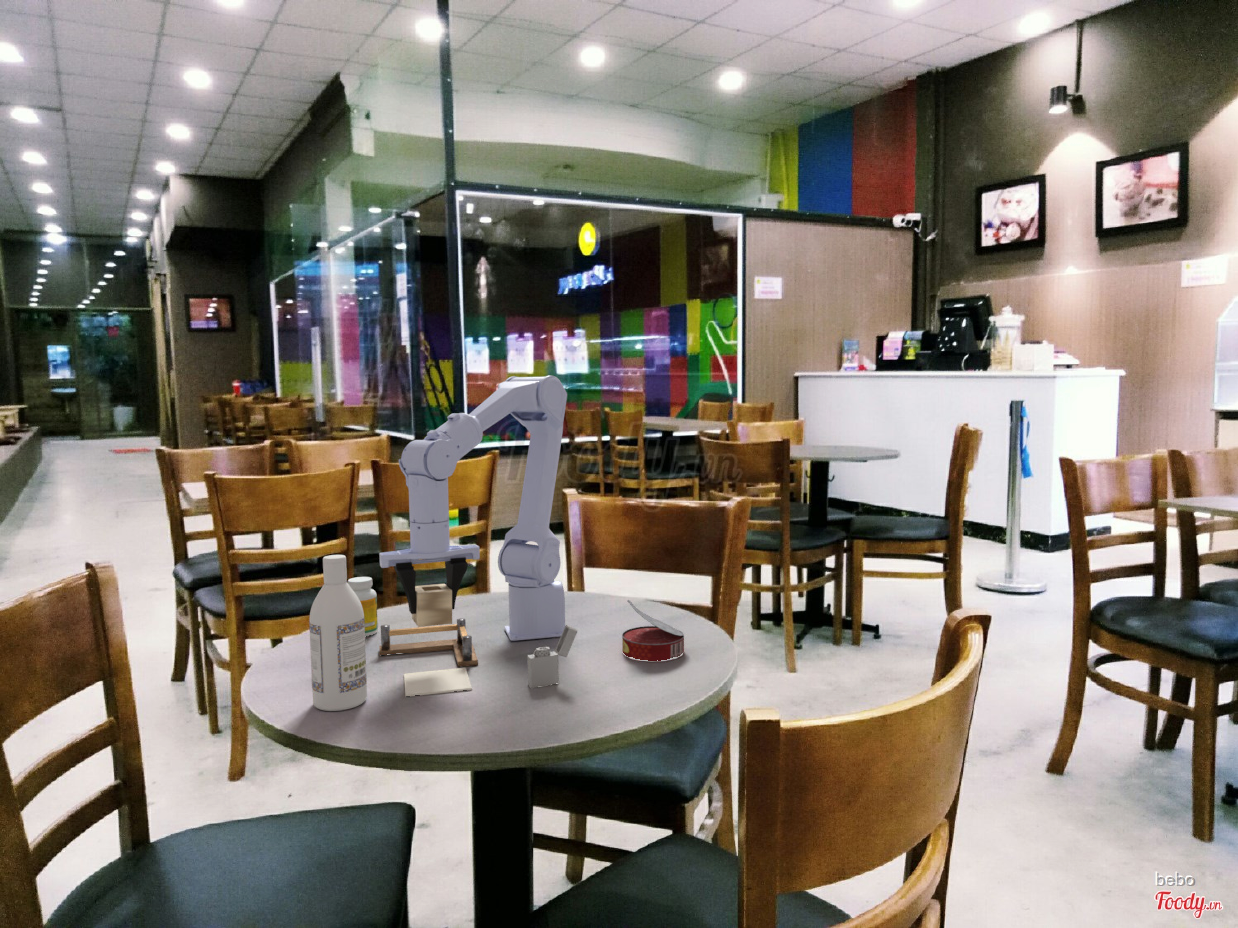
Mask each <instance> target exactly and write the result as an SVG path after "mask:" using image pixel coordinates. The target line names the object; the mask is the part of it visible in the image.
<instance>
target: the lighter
mask: <svg viewBox="0 0 1238 928" xmlns="http://www.w3.org/2000/svg"><path fill="white" fill-rule="evenodd" d="M577 634H578V629H576V628H575V627H573V626H570V625H568V624H565V628H564V630H563V633H562V635H561V636H560V637H559V640H558V642H557V644H556V647H555V649H554V651H551V648H550V646H542V647H537V648H535V650H534V651H533V653H532V654H527V656H526V657H527V686H530V687H531V688H530V687H529V688H530V689H535V688H534V687H538V686H544V687H549V686H548V685H550V686H552V685H551V684H556V683H559V684H560V681H559V675H560V674H559V656H561V657H565V658H567V657H568V655H569V652H570V650H571V648H572V646H573V644H574V641H575V638H576V636H577ZM538 688H539V687H538Z"/></svg>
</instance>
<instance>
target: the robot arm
mask: <svg viewBox="0 0 1238 928" xmlns="http://www.w3.org/2000/svg"><path fill="white" fill-rule="evenodd" d="M567 400H568V392H567V391H566V389H565V387H564V385H563V384H562V382H561V380H560V379H559V378H558V377H557V376H554V375H545V376H515V375H513V376H510V377H508V378H507V379H505V380H504V381H502V382H499V383H498V386H497V389H496V390H495V391H493V393H492V394H491V395H490V396H488V397H487V398H486V399H485V400H484V401H482V402H481V404H479V405H478V406H477V407H475V409H473V410H472V411H471V412H470V413H465V412H459V413H455V412H454V413H451V414H449V415H448V416H447V417H446V418H447V421H446V422H444V423H443V424H441V425H440V426H439V427H437V428H436V429H430V430H429V431H427V432H426V436H425V437H424V439H413V440H412V441H410V442H409V443H408V444H406V445H405V447H404V449H403V451H402V453H401V458H399V459H398V464H399V465H398V466H399V468H400V471H401V472H402V474H403V475H404V477H405V486H407V489H408V508H409V509H408V510H409V535H410V536H409V540H410V542H409V543H410V548H406V549H399V550H398V549H397V550H393V551H384V552H379V553H378V555H379V566H380V568H381V569H385V568H390V567H393V569H394V570H395V572H396V575H397V576H398V579H399V581H400V583H401V585H402V588H403V590H404V593H405V596H406V600H407V605H408V611H409V613H410V614H411V615H412V614H416V609H417V606H416V596H415V586H416V576H417V574H416V573H417V571H415V569H414V568H415V567H414V565H417V564H418V565H419V564H428V563H429V564H430V563H440V562H442V563H443V562H444V568H445V578H446V585H447V586H448V587H449V588H450V589H451V590H452V610H455V606H456V602H457V601H456V600H457V596H458V592H459V589H460V586H461V583H462V580H463V578H464V576H465V574H466V572H467V570H468V567H469V564H468V562H467V560H480V559H481V555H480V554H481V553H480V552H481V550H480V546H479V545H477V544H468V545H466V544H464V545H463V544H462V545H461V544H459V545H451V544H450V543H451V541H450V540H451V539H450V513H449V512H450V508H449V477H451V476H453V474H454V472H455V470H456V467H457V463H458V462H459V461H460V460H461V459H462V458H463V457H464V456H466V455H467V454H468V453H469V452H471V451H473V449H474V448H476V447H477V446H478V445H479V444H480V443H481V442H482V440H483V437H484V434H483V432H484V431H486V430H488V429H489V428H490V427H492V426H493V425H495V424H496V423H499V421H501V420H502V419H504V418H505V417H507V416H508V415H509V414H510V415H511V416H512V417H513V418H514V419H515V420H516V421H518V422H519V423H520V424H521V425H522V426H523V427H525V428H526V430H527V431H528V433H529V436H530V437H529V443H528V444H529V445H528V452H527V455H526V456H527V458H526V465H525V471H524V478H523V483H522V490H521V491H522V492H521V498H520V505H519V512H518V518H517V524H516V525H514V526H513V527H512V528H510V530H508V531H507V532H506V533H505V534H504V535H505V536H504V541H503V545H502V546H501V549H500V550H499V551H498V556H497V566H498V567H497V568H498V570H499V572H500V573H501V575H502V576H504V581H505V583H508V614H509V615H508V625H504V630H505V632H506V634H507V636H508V638H509V640H510V641H511V642H515V641H525V640H536V639H547V638H560V637H561V635H562V633H563V630H564V628H565V626H566V597H565V589H564V585H563V582H562V580H556V578H557V577H558V575H559V572H560V569H561V563H562V562H561V557H560V543H561V542H560V539H559V538H558V537H557V536H556V535H555V534H554V533H553V531H552V530H551V529H550V522H551V515H552V508H553V501H554V495H555V489H556V487H555V486H556V479H557V475H558V466H559V460H560V454H561V448H562V447H561V445H562V441H563V440H562V438H563V431H564V419H565V412H566V405H567ZM528 542H534V543H536V544H530V543H528Z"/></svg>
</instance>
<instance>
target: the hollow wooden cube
mask: <svg viewBox="0 0 1238 928" xmlns="http://www.w3.org/2000/svg"><path fill="white" fill-rule="evenodd" d="M415 596H416V606H417V609H416V614H411V619H412V621H413V622H414V623H415V625H416V626H417V627H428V626H440V625H452V624H453V609H452V590H451V589H450V588H449V587H448V586H447V583H446V584H445V583H436V584H425V585H415Z"/></svg>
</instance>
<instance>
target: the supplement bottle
mask: <svg viewBox="0 0 1238 928" xmlns="http://www.w3.org/2000/svg"><path fill="white" fill-rule="evenodd" d="M347 583H348V584H349V586H350V587H351V588H352V590H353V591H354V592H355V594H356V595H357V597H358V598H359V600H360V602H361V605H362V608H363V613H364V626H365V636H367V637H370V636H369V635H371V636H373V635H372V634H374V635H375V634H376V633H377V632H378V630H379V629H378V628H379V626H378V602H377V601H378V597H377V592H376V590H374V589H373V588H372V587H373V578H372V577H370V576H357V577H352V578H348V580H347Z"/></svg>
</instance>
